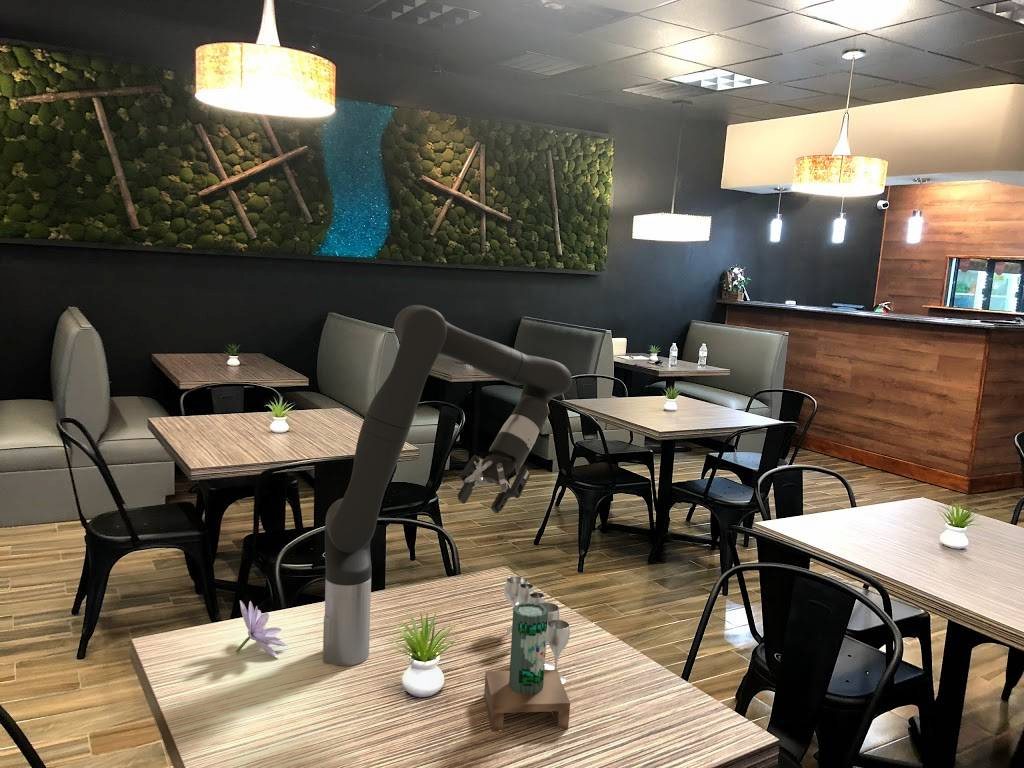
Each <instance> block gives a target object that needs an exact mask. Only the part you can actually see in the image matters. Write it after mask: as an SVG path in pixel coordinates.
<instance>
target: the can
mask: <svg viewBox="0 0 1024 768" xmlns="http://www.w3.org/2000/svg"><path fill="white" fill-rule="evenodd" d="M547 619H548V610H547V608H545V606H542V605H540V604H537V603H536V604H535V603H520V604H518V605H516V606H514V608H513V607H512V623H511V624H512V625H511V626H512V635H511V640H510V641H511V643H510V645H511V646H510V656H509V657H510V659H509V660H510V661H509V671H510V675H509V687H510V688H511V690H513V691H515V692H517V693H519V694H520V693H522V694H524V695H525V694H527V695H528V694H530V695H531V694H533V693H534V694H536V693H538V692H540V691H541V690H542V688H543V682H544V667H545V661H546V655H545V651H546V652H547V646H546V635H547Z"/></svg>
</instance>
